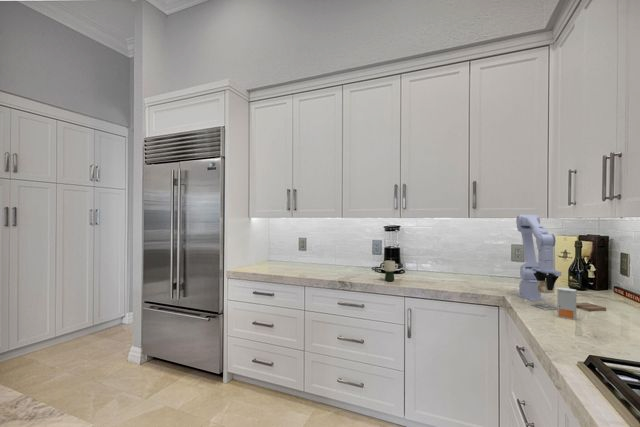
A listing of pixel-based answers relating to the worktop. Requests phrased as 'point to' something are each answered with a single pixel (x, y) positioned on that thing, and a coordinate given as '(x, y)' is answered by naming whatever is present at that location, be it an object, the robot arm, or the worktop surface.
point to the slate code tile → (545, 307)
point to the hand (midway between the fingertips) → (545, 289)
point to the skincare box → (566, 303)
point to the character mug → (389, 269)
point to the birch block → (544, 287)
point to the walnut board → (590, 307)
